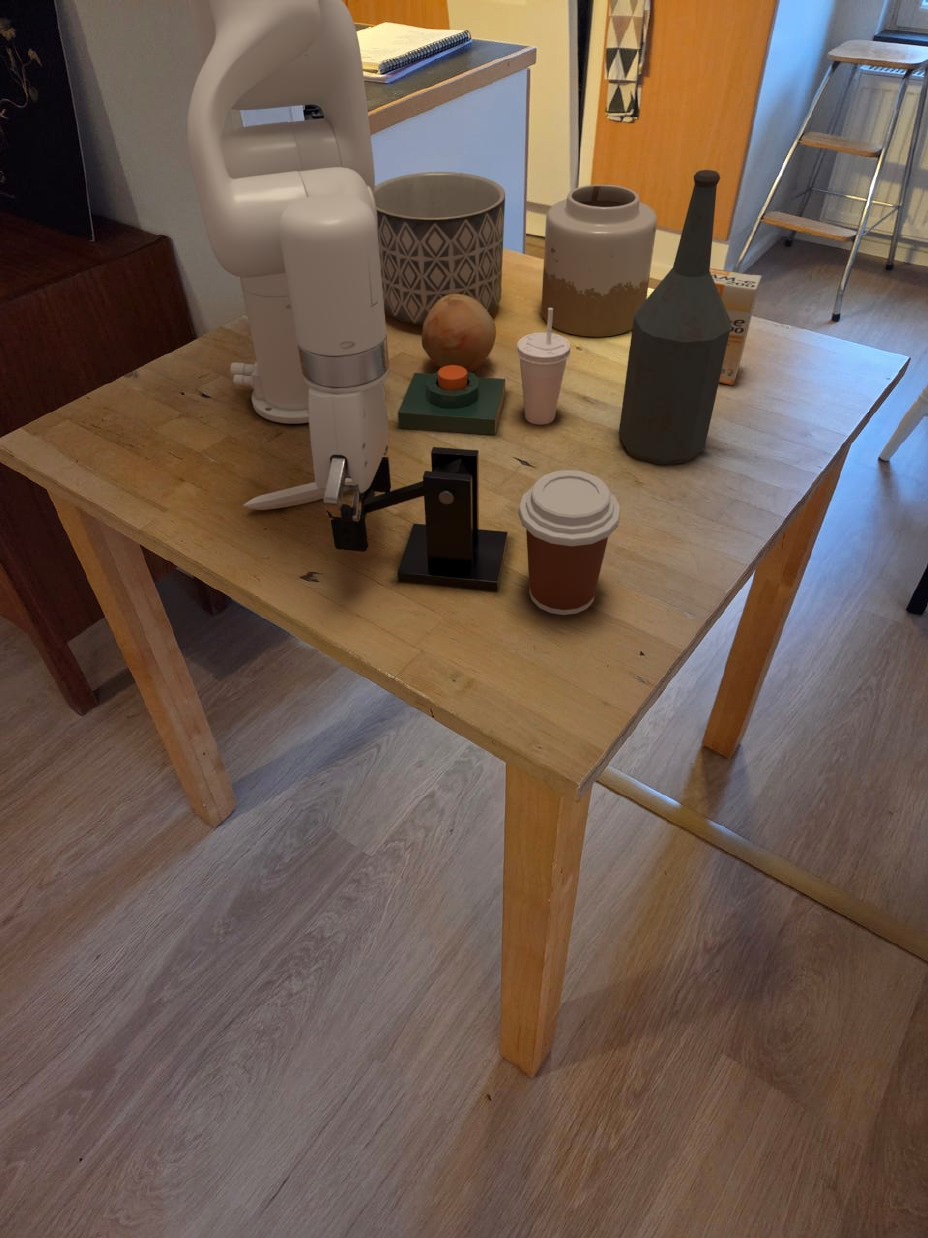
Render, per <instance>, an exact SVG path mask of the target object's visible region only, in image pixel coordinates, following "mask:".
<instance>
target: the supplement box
mask: <svg viewBox="0 0 928 1238" xmlns="http://www.w3.org/2000/svg"><path fill="white" fill-rule="evenodd" d="M710 273H711V275H712V278H713V280H714V282H715V285H716V287H717V290H718V292H719V294H720V297H721V299H722V301H723V304H724V306H725V309H726V311H727V313H728V316H729V318H730V321H731V323H732V324H731V328H730V333H729V338H728V342H727V347H726V352H725V356H724V361H723V366H722V370H721V375H720V380H719V384H726V385H730V386H734V384H735V381H736V377H737V374H738V371H739V369H740V365H741V362H742V357H743V352H744V349H745V346H746V341H747V337H748V334H749V329H750V325H751V321H752V317H753V312H754V308H755V304H756V300H757V297H758V292H759V288H760V285H761V280H762V275H760V274H750V273H744V272H738V271H731V270H724V269H718V268H711V267H710Z"/></svg>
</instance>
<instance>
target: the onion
mask: <svg viewBox="0 0 928 1238" xmlns="http://www.w3.org/2000/svg"><path fill="white" fill-rule="evenodd" d="M496 336H497V326H496V323H495V321H494V319H493V317H492V316H491V314H490V313H488V311H487V310H486V309H485V308H484V307H483V306H482V305H481V304H480V303H479V302H478V301H476V300H475V299H473V298H471V297H469V296H466V295H462V294H449V295H446V296H444V297H442V298H441V299H440V300H439V301H438V302H437V303H436V304H435V305H434V306H433V307H432V308H431V310H430V311H429V313H428V315H427V317H426V319H425V322H424V325H422V333H421V345H422V346H421V347H422V349H423V350H424V352H425V353H426V355H427V357H429V359H430V360H431V362H433V364H435V365H436V366H437V367H439V369H441V368H442V367H444V366H449V365H457V366H461V367H463V368H465V369H466V370H467V371H468V372H470V373H472V372H474V371H475V370H477V369H478V368H479V367H481V366H482V365H483V364H484V363H485V361H486V360H487V358H488V357H489V356H490V354H491V352H492V351H493V348H494V345H495V341H496Z"/></svg>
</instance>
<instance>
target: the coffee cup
mask: <svg viewBox="0 0 928 1238" xmlns="http://www.w3.org/2000/svg"><path fill="white" fill-rule="evenodd" d="M621 510H622V509H621V506H620V504H619V502H618V500H617V498H616V496H615V495H614V494H613V493H612V492H611V489H610V488H609V485H608V484H607V483H605V482H604V481H603V480H601V478H599V477H598V476H596V475H594V474H591V473H588V472H585V471H582V470H573V469H563V470H554V471H553V472H550V473H548V474H547V473H546V474H545V475H542V476H541V477H539V478H538V479H537V480H536V481H535V482H534V483H533V484H532V486H531V487H530V488H529V489H528V490H527V491H526V492H525V493H524V494H523V495H521V499H520V502H519V506H518V511H517V512H518V514H517V515H518V517H519V519H520V522H521V526H522V527H523V528H524V529H525V533H526V551H527V553H526V554H527V567H528V568H527V569H528V585H529V589H528V593H529V596H530V598H531V601H532V602H533V603H534V604H535V605H536V606H537V607H538V608H539V609H541V610H543V611H545V612H548V613H550V614H552V615H553V614H554V615H561V616H566V615H567V616H568V615H577V614H578V613H581V612H583V611H586V610H587V609H588V608H589V607H590V606H591V605H592V604H593V603H594V601H595V595H596V592H597V591H596V590H597V587H598V583H599V577H600V573H601V570H602V565H603V561H604V558H605V553H606V549H607V544H608V540H609V537H610V536H611V535H612V534H613V532H615V531H616V529H617V528H618V527H619V522H620V517H621Z"/></svg>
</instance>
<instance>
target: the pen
mask: <svg viewBox="0 0 928 1238" xmlns="http://www.w3.org/2000/svg"><path fill="white" fill-rule="evenodd" d="M344 485H354V486H356V484H354V482H353V480H352V479H349V478H346V479H345V484H344ZM324 494H325V490H319V489H318V488H317V486H316V482H315V481H313V482H308V483H305V484H300V485H297V486H293V487H289V488H286V489H280V490H277V491H272V492H269V493H266V494H261V495H258V496H256V497H253V498H251V499H250V500H249V501H247V502H245V503H244V504H243V505H242V507H244V508H247V509H251V510H252V509H253V510H258V511H259V510H260V511H267V510H274V509H281V508H282V509H283V508H288V507H293V506H298V505H303V504H308V503H312V502H316V501H320V500H324ZM343 494H347V492H343Z"/></svg>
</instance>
